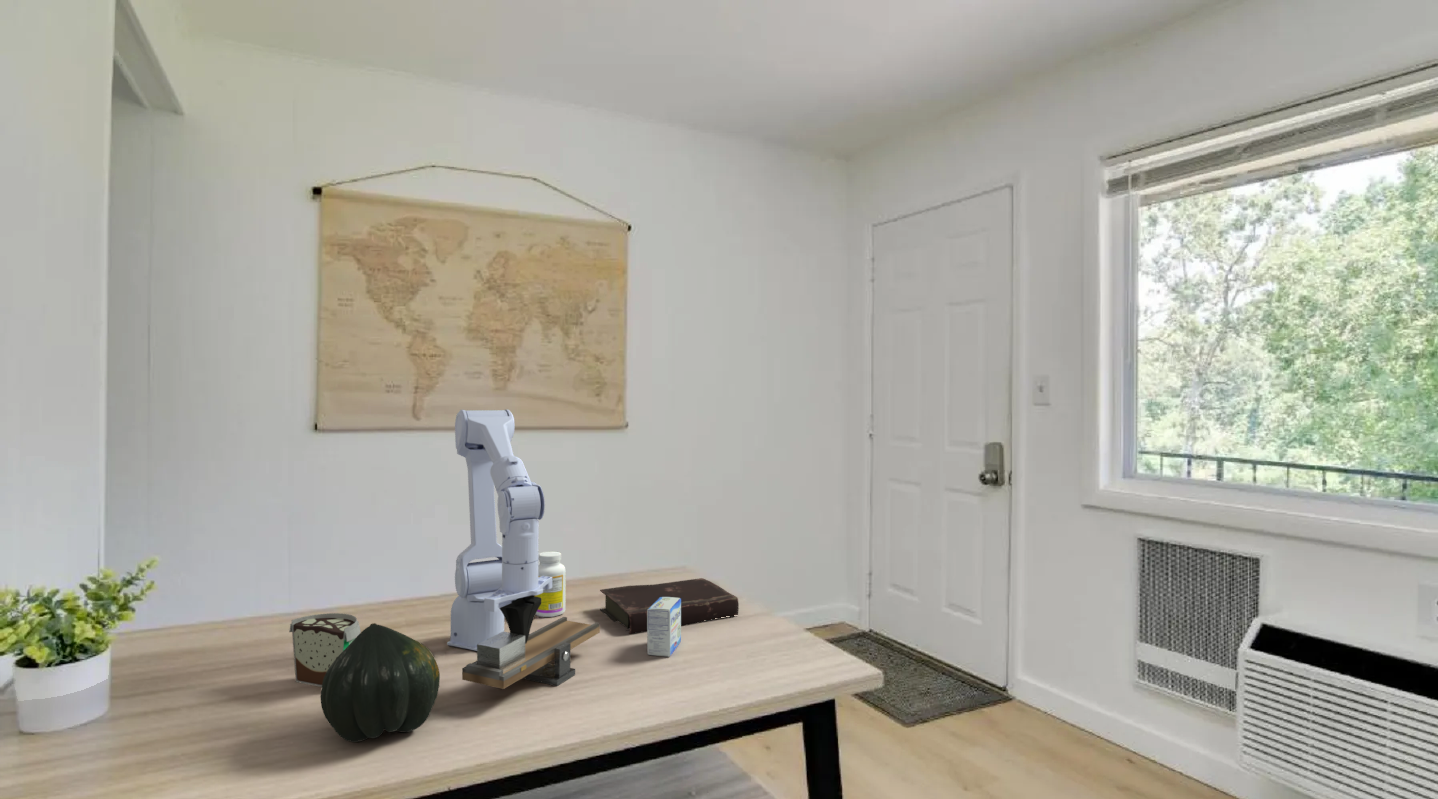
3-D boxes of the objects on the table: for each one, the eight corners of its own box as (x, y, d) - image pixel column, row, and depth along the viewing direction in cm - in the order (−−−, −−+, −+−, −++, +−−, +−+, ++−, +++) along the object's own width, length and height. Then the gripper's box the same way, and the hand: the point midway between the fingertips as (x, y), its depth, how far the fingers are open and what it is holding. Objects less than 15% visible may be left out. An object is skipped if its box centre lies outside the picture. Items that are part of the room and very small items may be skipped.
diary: (739, 620, 150) (739, 596, 150) (629, 639, 138) (630, 613, 137) (699, 595, 166) (699, 574, 166) (598, 610, 154) (598, 588, 154)
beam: (461, 679, 108) (461, 664, 108) (563, 626, 132) (563, 613, 132) (504, 689, 104) (504, 673, 104) (600, 632, 128) (600, 619, 128)
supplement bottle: (542, 607, 154) (542, 549, 154) (570, 609, 153) (571, 551, 153) (528, 616, 148) (528, 556, 148) (557, 619, 146) (558, 558, 146)
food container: (377, 677, 116) (378, 617, 116) (347, 692, 110) (347, 628, 110) (321, 666, 120) (321, 608, 120) (288, 680, 114) (289, 619, 114)
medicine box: (670, 657, 126) (670, 610, 126) (646, 655, 127) (646, 608, 127) (681, 642, 134) (681, 597, 134) (658, 640, 135) (659, 595, 135)
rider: (477, 669, 109) (477, 644, 108) (503, 655, 114) (503, 631, 114) (499, 674, 107) (499, 648, 107) (525, 660, 112) (525, 635, 112)
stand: (498, 673, 118) (498, 640, 118) (517, 663, 123) (518, 631, 123) (557, 686, 113) (557, 651, 113) (575, 674, 118) (575, 641, 118)
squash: (423, 717, 91) (434, 607, 100) (295, 732, 87) (319, 618, 97) (440, 748, 101) (449, 646, 111) (327, 763, 98) (346, 657, 108)
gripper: (510, 573, 105) (509, 663, 106) (567, 553, 119) (566, 632, 119) (473, 568, 108) (473, 655, 108) (533, 549, 122) (532, 626, 122)
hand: (519, 643), depth 114 cm, fingers closed
